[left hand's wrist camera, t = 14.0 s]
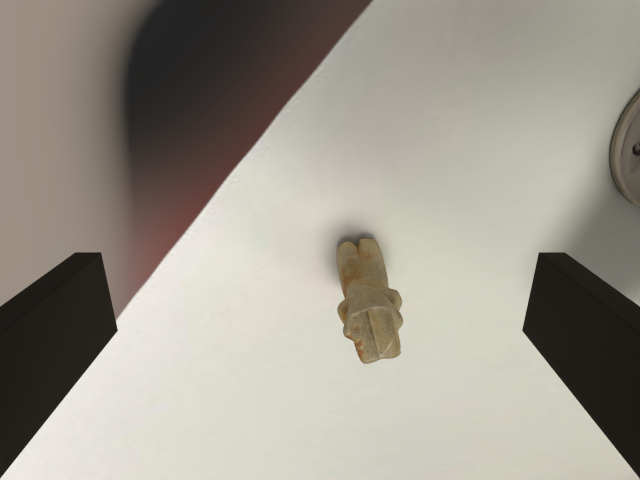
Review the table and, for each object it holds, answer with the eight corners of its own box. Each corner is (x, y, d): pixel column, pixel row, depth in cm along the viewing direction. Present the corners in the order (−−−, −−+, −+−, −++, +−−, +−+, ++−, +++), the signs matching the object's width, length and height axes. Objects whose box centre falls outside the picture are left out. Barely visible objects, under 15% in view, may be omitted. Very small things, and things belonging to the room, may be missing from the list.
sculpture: (383, 230, 44) (412, 302, 30) (390, 289, 47) (420, 380, 33) (329, 239, 44) (333, 314, 30) (339, 297, 47) (347, 390, 33)
